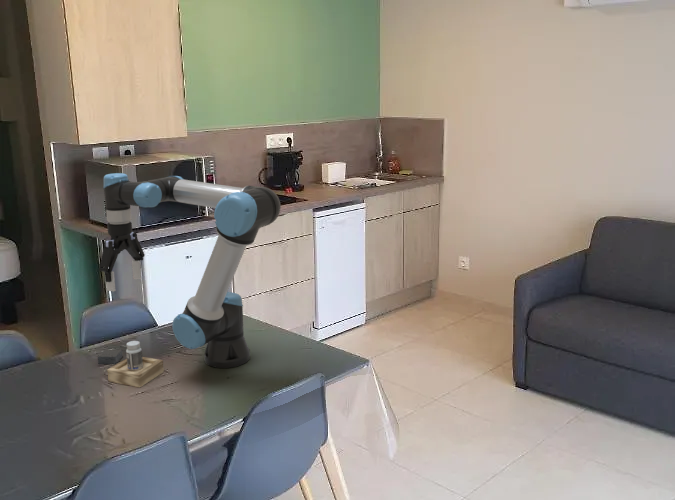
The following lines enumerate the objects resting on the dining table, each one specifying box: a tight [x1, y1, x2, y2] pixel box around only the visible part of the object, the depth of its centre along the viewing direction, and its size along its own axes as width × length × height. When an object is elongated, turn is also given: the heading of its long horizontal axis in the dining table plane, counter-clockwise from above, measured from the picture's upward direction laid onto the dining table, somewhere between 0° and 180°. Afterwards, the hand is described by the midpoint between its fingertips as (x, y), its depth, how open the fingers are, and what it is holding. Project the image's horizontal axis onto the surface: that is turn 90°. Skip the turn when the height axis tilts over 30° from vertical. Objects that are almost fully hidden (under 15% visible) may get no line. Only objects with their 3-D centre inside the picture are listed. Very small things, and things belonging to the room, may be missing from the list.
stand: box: [106, 356, 165, 388], centre depth 204 cm, size 12×12×4 cm
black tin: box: [97, 349, 124, 365], centre depth 216 cm, size 6×6×3 cm
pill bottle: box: [125, 340, 143, 371], centre depth 203 cm, size 5×5×8 cm
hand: (124, 284), depth 212 cm, fingers open, 13 cm apart
